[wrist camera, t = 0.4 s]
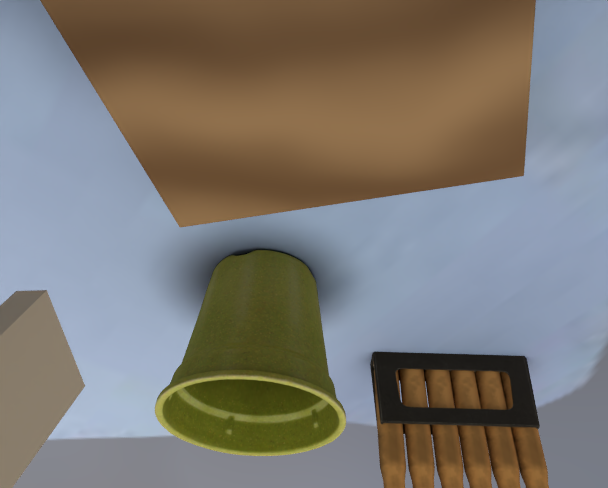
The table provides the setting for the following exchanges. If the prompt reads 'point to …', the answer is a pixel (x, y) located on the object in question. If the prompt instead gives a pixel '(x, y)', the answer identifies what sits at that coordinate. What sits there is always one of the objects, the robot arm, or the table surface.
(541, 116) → the table surface
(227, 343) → the plant pot
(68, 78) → the table surface
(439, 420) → the ammunition clip
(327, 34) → the walnut board
